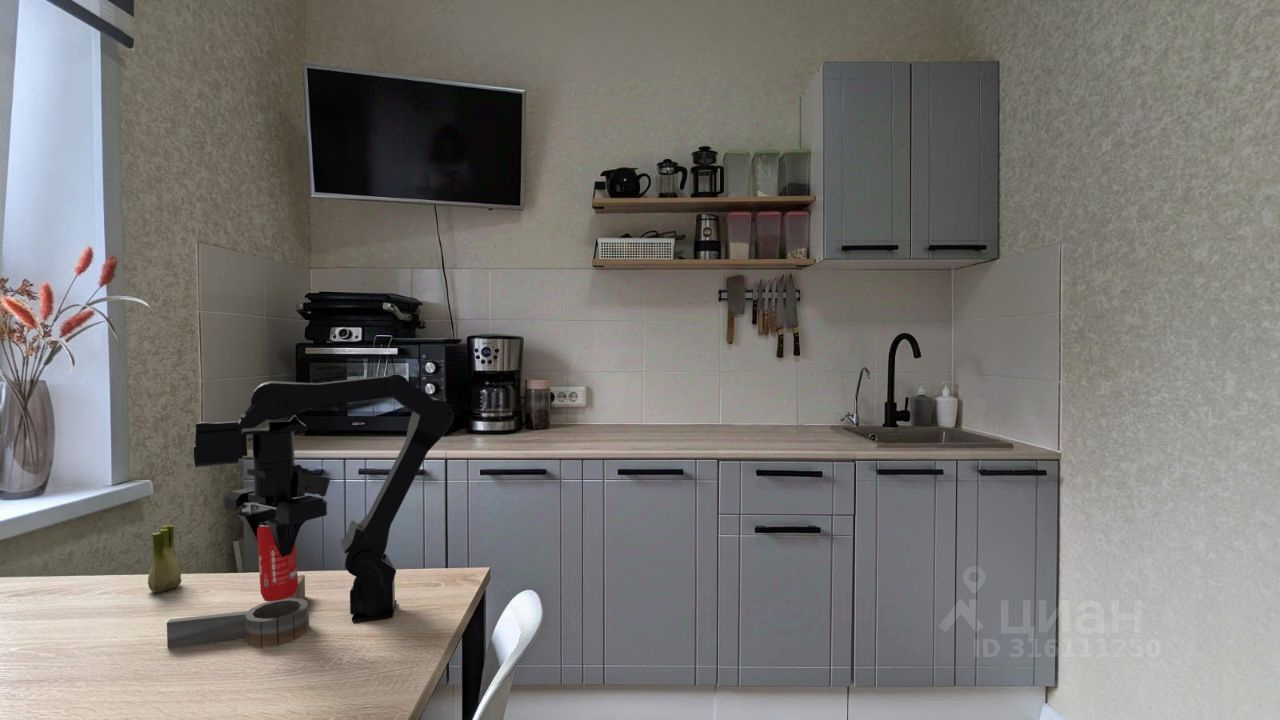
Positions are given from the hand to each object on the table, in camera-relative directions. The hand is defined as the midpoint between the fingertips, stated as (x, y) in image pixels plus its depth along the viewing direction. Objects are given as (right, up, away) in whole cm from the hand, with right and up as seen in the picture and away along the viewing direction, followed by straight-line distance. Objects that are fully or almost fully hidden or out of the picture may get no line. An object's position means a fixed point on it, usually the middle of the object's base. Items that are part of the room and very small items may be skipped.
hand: (276, 556), depth 100 cm
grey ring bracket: (-7, -12, +4) cm, 15 cm away
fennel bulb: (-32, -12, +18) cm, 39 cm away
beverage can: (+1, -7, 0) cm, 7 cm away
